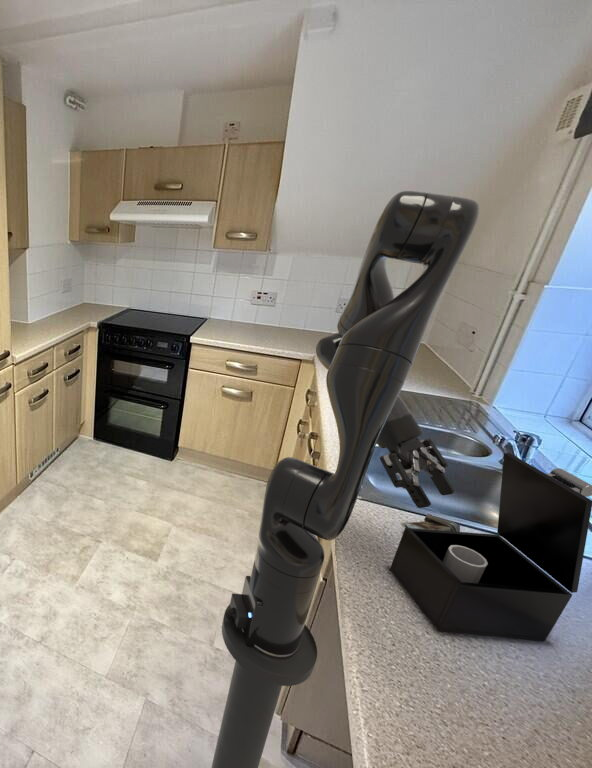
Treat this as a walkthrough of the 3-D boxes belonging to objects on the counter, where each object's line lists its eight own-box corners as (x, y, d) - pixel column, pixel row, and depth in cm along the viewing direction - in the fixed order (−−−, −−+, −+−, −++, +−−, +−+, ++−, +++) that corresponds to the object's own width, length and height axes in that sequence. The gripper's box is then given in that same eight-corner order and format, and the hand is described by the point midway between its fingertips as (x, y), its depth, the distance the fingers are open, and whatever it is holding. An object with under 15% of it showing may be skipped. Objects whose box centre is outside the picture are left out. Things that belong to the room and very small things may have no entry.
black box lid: (586, 501, 59) (631, 495, 58) (503, 453, 71) (539, 447, 70) (571, 593, 64) (612, 588, 63) (497, 532, 77) (530, 528, 76)
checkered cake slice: (391, 518, 97) (412, 510, 87) (425, 514, 96) (450, 506, 85) (409, 562, 93) (433, 559, 82) (445, 558, 91) (474, 555, 81)
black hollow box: (438, 631, 69) (459, 585, 66) (389, 569, 82) (405, 527, 78) (545, 641, 68) (573, 594, 64) (478, 576, 81) (498, 534, 77)
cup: (447, 602, 74) (464, 565, 71) (426, 579, 79) (441, 543, 76) (478, 605, 74) (496, 568, 70) (455, 581, 78) (471, 545, 75)
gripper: (386, 420, 75) (439, 508, 70) (427, 405, 81) (478, 485, 76) (349, 433, 81) (395, 515, 76) (390, 419, 87) (435, 493, 82)
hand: (437, 500), depth 76 cm, fingers open, 8 cm apart
